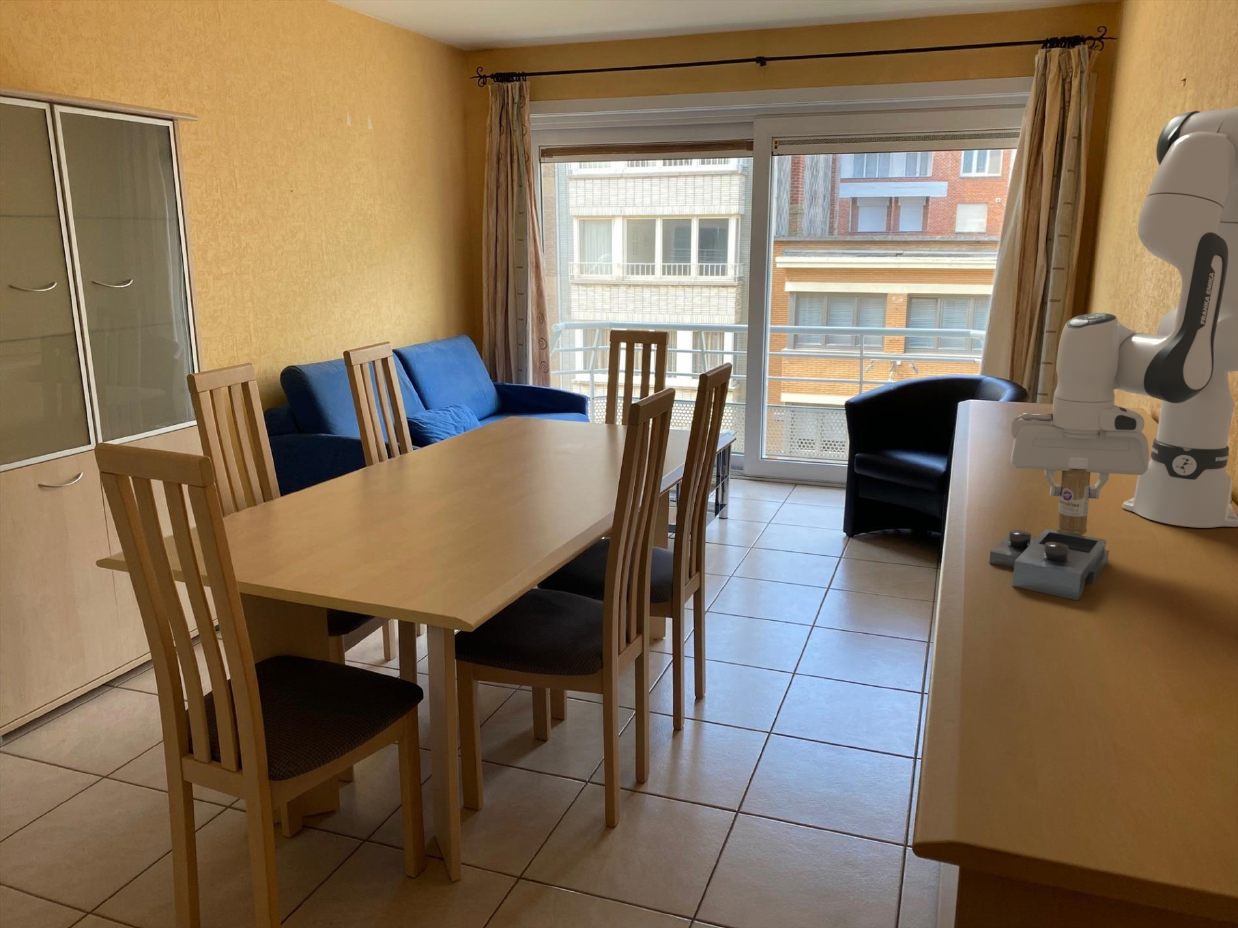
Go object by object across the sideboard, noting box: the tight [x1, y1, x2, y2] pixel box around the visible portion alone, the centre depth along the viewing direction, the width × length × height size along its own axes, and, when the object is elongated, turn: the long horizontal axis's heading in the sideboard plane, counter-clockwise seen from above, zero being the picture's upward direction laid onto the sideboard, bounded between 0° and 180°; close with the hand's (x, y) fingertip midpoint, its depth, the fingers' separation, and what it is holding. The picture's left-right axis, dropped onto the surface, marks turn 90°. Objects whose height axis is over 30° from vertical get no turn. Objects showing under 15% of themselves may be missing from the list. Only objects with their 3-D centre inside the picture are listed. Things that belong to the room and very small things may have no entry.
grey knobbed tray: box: [988, 529, 1110, 585], centre depth 145 cm, size 12×15×4 cm
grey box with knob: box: [1011, 528, 1107, 601], centre depth 140 cm, size 19×9×6 cm, turn 143°
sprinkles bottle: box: [1056, 457, 1091, 536], centre depth 151 cm, size 5×5×13 cm
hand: (1074, 496), depth 151 cm, fingers closed on sprinkles bottle, 4 cm apart
